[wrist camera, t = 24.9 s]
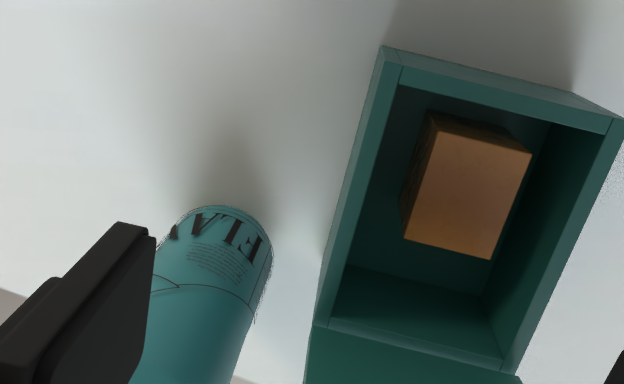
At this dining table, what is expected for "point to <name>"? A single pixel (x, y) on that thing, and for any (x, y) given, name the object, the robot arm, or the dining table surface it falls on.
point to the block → (461, 184)
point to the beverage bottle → (203, 297)
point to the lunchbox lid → (385, 363)
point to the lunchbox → (445, 263)
